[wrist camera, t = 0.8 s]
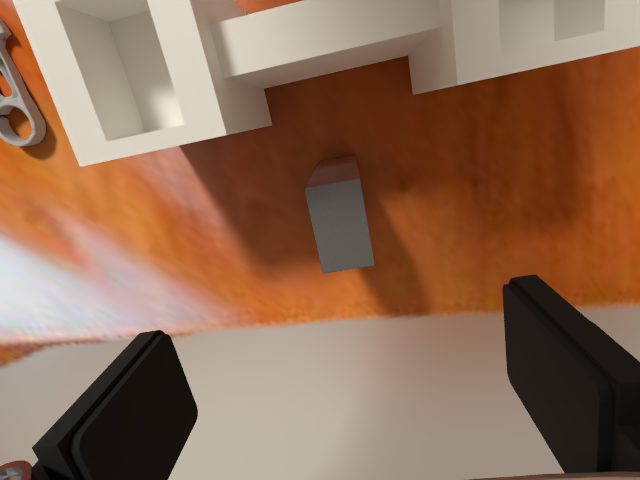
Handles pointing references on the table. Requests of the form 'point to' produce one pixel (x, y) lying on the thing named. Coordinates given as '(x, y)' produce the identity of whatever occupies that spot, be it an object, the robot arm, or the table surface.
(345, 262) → the gray rectangular block
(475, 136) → the table surface
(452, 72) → the double socket connector
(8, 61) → the bracket
